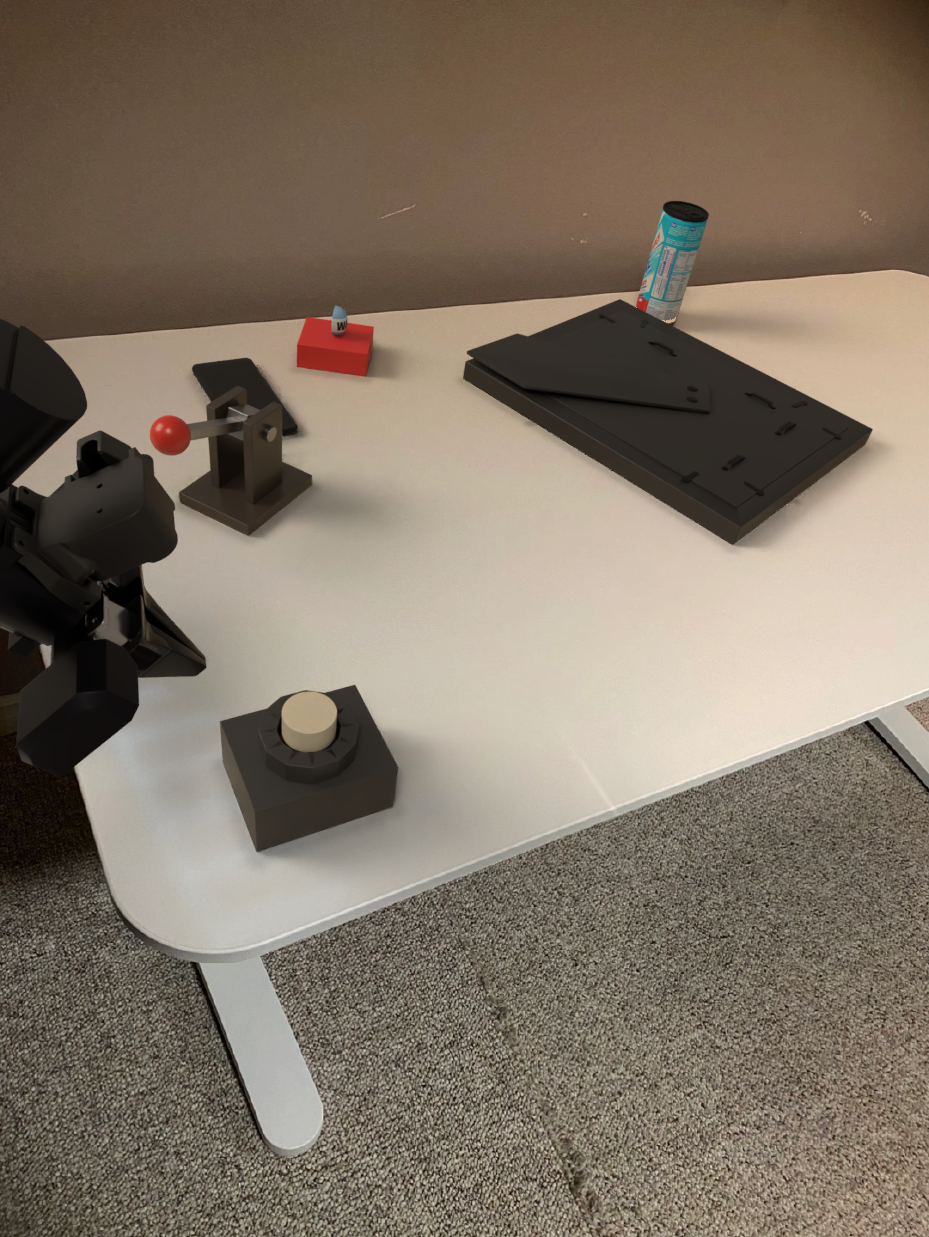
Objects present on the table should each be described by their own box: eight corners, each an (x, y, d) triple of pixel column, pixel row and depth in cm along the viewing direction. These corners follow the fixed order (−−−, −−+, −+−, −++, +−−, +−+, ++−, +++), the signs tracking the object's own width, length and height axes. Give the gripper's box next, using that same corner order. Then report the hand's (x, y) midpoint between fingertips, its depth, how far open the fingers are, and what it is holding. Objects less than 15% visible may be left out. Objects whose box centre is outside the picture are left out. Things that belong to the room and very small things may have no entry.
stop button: (292, 759, 61) (292, 739, 59) (274, 719, 63) (274, 699, 62) (343, 743, 62) (345, 724, 61) (324, 705, 64) (325, 685, 63)
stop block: (256, 852, 62) (254, 796, 58) (222, 761, 67) (218, 703, 63) (393, 807, 66) (401, 751, 62) (352, 724, 71) (356, 667, 67)
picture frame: (462, 378, 110) (732, 545, 94) (466, 350, 108) (744, 517, 92) (615, 314, 128) (864, 445, 112) (622, 289, 126) (878, 419, 109)
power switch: (169, 464, 74) (175, 426, 73) (138, 449, 75) (144, 411, 74) (265, 443, 85) (272, 410, 84) (237, 430, 86) (243, 397, 85)
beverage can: (657, 307, 132) (689, 199, 122) (683, 327, 128) (718, 217, 118) (624, 312, 129) (654, 202, 119) (650, 332, 126) (682, 221, 116)
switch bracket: (248, 536, 85) (245, 446, 78) (179, 502, 87) (170, 412, 80) (312, 484, 92) (314, 398, 85) (246, 454, 94) (243, 368, 87)
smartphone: (250, 356, 106) (300, 427, 97) (250, 362, 106) (299, 433, 98) (189, 363, 103) (235, 437, 94) (190, 370, 103) (235, 444, 95)
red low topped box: (372, 348, 113) (375, 298, 108) (365, 376, 108) (369, 325, 103) (306, 338, 112) (307, 288, 108) (296, 366, 107) (297, 315, 103)
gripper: (51, 568, 36) (324, 714, 47) (63, 332, 49) (277, 490, 59) (-117, 721, 40) (175, 825, 50) (-65, 463, 52) (160, 591, 63)
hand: (201, 667), depth 56 cm, fingers closed
